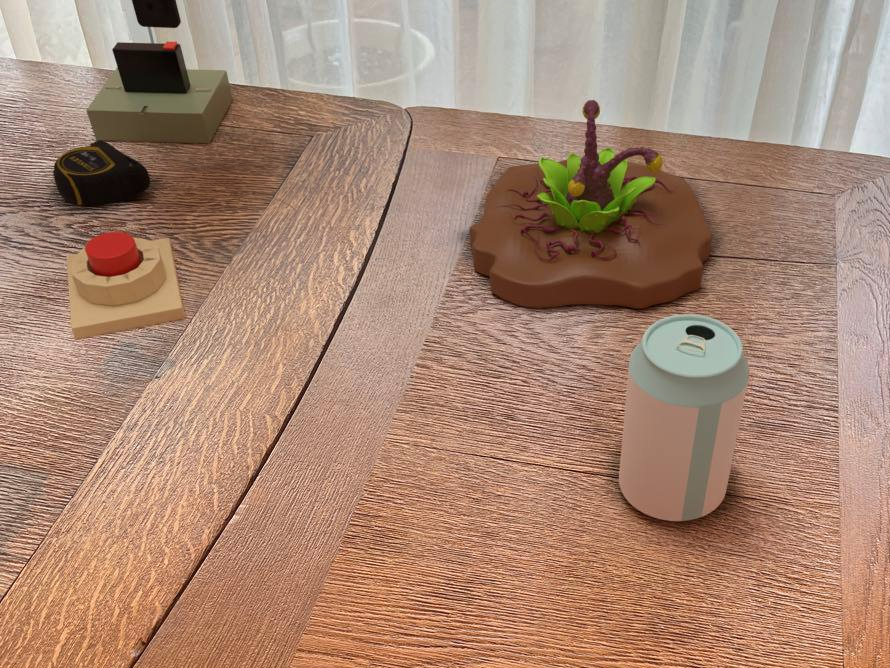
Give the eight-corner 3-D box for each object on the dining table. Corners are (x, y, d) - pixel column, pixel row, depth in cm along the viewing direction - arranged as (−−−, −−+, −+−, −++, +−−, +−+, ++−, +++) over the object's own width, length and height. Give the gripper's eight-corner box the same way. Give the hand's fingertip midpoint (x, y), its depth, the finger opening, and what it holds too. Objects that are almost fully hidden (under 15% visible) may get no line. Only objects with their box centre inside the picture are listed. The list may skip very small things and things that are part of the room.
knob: (124, 91, 98) (110, 46, 95) (129, 84, 100) (116, 39, 96) (186, 93, 98) (174, 48, 95) (191, 85, 99) (179, 40, 96)
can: (606, 460, 70) (616, 314, 61) (704, 445, 71) (729, 299, 62) (635, 536, 65) (651, 391, 56) (740, 518, 66) (772, 372, 57)
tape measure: (159, 198, 92) (147, 159, 89) (89, 228, 88) (74, 188, 86) (118, 170, 95) (106, 131, 92) (49, 198, 91) (34, 159, 89)
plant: (699, 183, 94) (715, 58, 85) (717, 313, 81) (738, 181, 72) (480, 179, 94) (474, 54, 86) (462, 307, 81) (454, 176, 73)
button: (91, 256, 79) (83, 236, 78) (139, 247, 80) (132, 228, 79) (93, 282, 77) (86, 262, 76) (143, 273, 78) (136, 253, 76)
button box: (75, 278, 83) (58, 235, 80) (175, 260, 85) (162, 217, 82) (81, 352, 77) (62, 308, 74) (189, 331, 79) (176, 287, 76)
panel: (93, 143, 98) (82, 111, 96) (127, 94, 105) (118, 62, 102) (208, 147, 98) (199, 114, 95) (234, 97, 104) (227, 65, 102)
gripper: (107, -297, 75) (169, -42, 88) (7, -238, 64) (94, 45, 77) (208, -294, 75) (255, -39, 88) (125, -234, 63) (193, 49, 76)
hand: (180, 0), depth 82 cm, fingers open, 9 cm apart
